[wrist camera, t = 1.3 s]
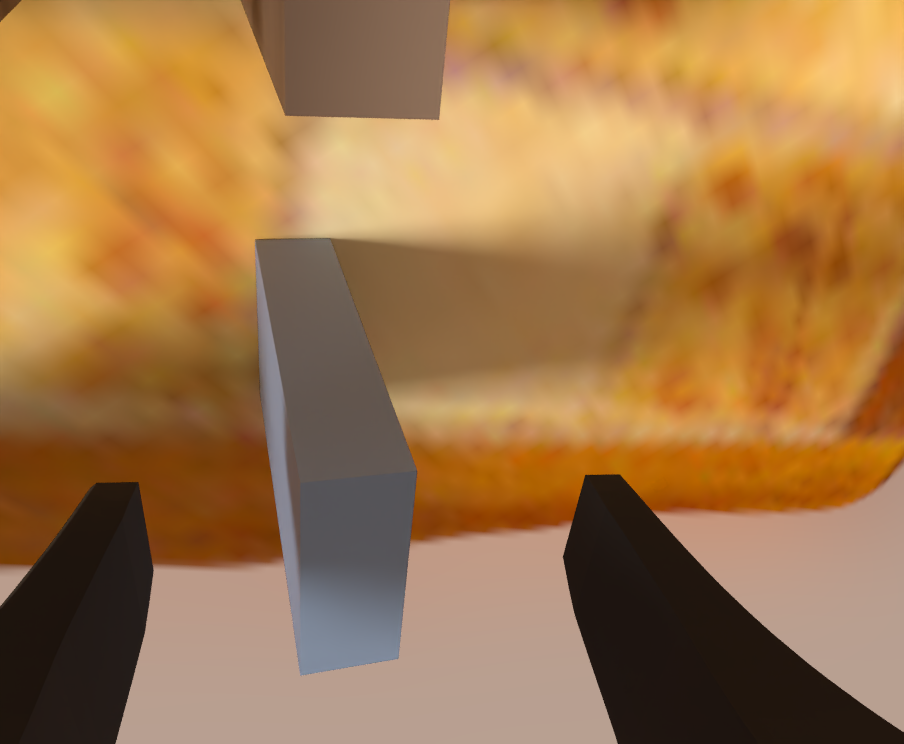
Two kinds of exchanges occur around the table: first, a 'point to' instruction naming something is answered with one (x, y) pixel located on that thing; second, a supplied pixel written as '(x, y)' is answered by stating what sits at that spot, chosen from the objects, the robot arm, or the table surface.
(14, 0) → the domino
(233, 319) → the table surface
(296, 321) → the domino
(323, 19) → the domino
